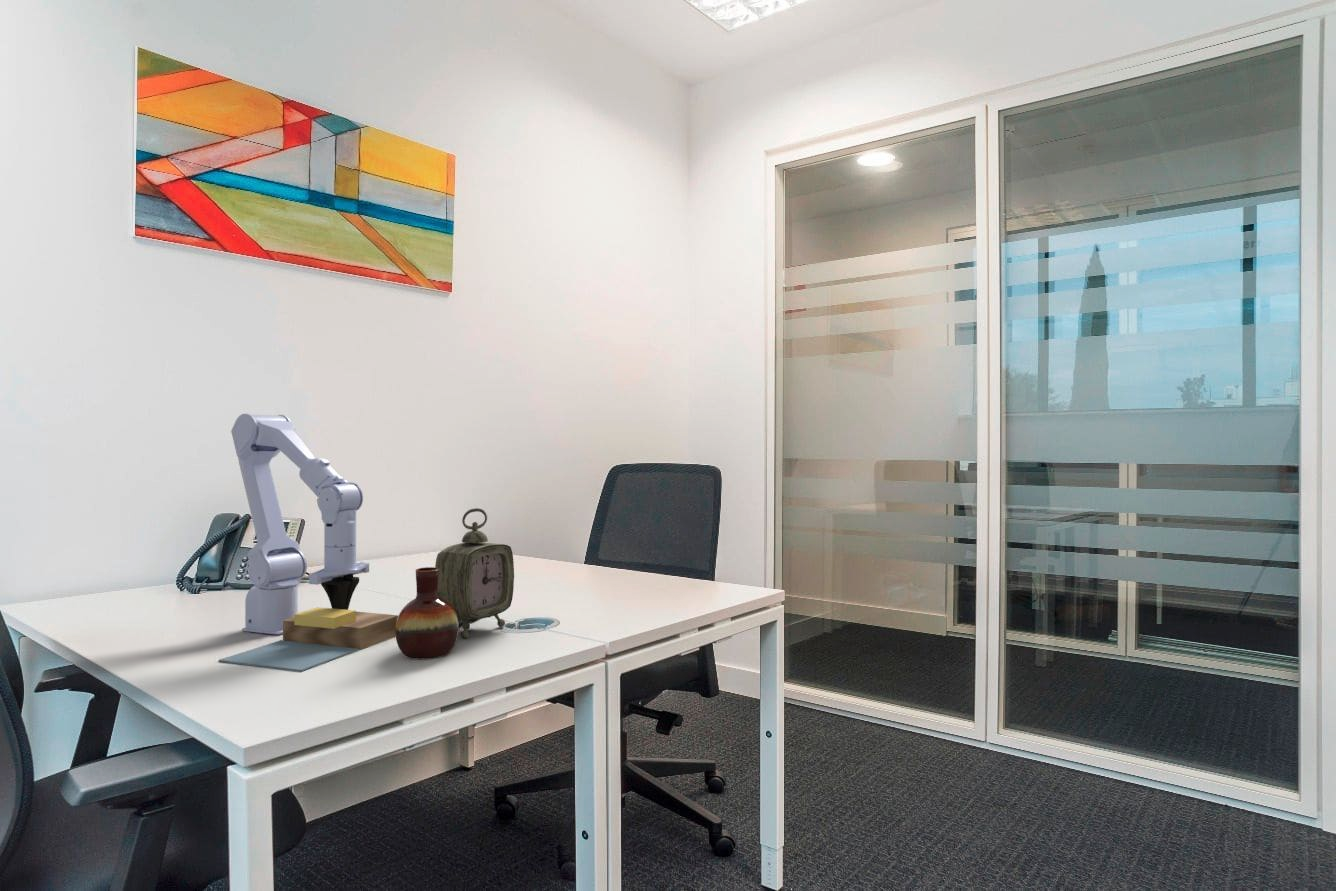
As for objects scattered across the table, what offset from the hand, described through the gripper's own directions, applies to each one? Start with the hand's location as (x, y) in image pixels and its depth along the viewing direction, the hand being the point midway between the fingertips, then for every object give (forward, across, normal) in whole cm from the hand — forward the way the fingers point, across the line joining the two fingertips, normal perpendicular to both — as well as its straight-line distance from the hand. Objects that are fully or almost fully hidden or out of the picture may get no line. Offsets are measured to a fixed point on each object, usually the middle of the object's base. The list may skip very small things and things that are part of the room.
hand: (340, 615), depth 154 cm
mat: (+5, -13, 0) cm, 13 cm away
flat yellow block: (+1, -4, 0) cm, 4 cm away
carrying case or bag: (+5, +18, -12) cm, 22 cm away
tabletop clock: (+5, +14, -21) cm, 26 cm away
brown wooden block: (+5, 0, 0) cm, 5 cm away
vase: (+5, -3, -22) cm, 23 cm away
